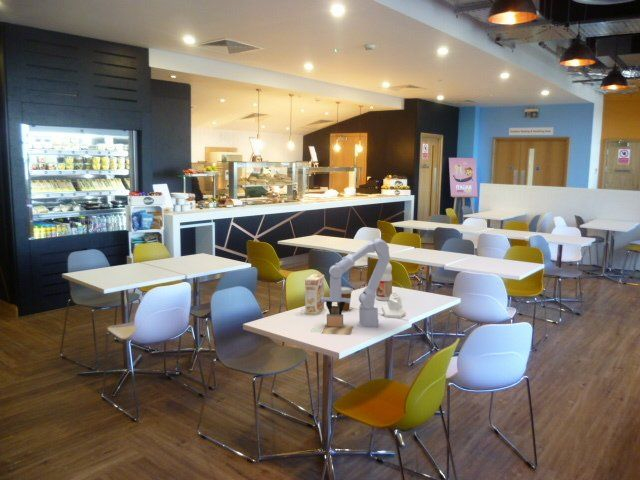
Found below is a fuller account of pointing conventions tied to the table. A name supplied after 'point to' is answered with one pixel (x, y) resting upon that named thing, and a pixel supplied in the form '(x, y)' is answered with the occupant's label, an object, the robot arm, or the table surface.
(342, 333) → the mat
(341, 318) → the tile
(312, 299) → the coffeecake box
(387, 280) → the fruit juice
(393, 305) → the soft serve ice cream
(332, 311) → the block
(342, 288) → the disposable coffee cup
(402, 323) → the table surface
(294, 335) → the table surface
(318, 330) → the block
